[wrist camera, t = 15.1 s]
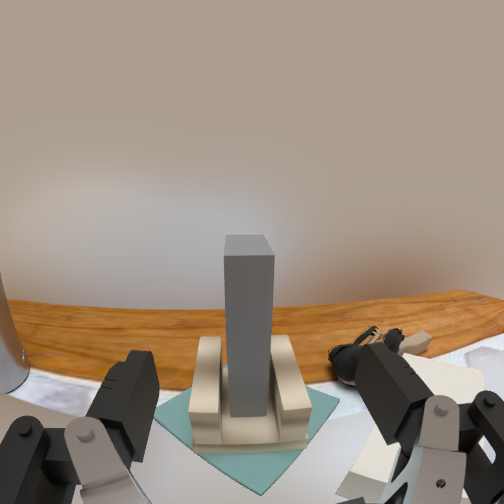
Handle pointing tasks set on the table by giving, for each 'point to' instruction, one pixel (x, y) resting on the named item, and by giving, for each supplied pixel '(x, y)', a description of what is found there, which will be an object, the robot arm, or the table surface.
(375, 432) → the cream flat block
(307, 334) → the table surface
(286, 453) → the mat
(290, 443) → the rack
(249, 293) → the grey rectangular block
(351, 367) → the toy figure
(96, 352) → the table surface
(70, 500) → the robot arm
